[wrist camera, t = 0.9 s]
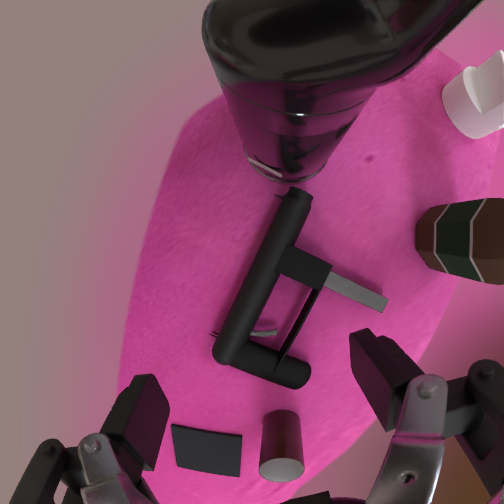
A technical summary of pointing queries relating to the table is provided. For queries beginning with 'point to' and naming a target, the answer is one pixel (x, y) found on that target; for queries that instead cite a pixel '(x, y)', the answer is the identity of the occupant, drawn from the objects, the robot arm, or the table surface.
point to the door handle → (260, 287)
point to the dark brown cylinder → (281, 447)
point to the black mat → (207, 450)
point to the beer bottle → (464, 239)
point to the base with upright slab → (477, 98)
